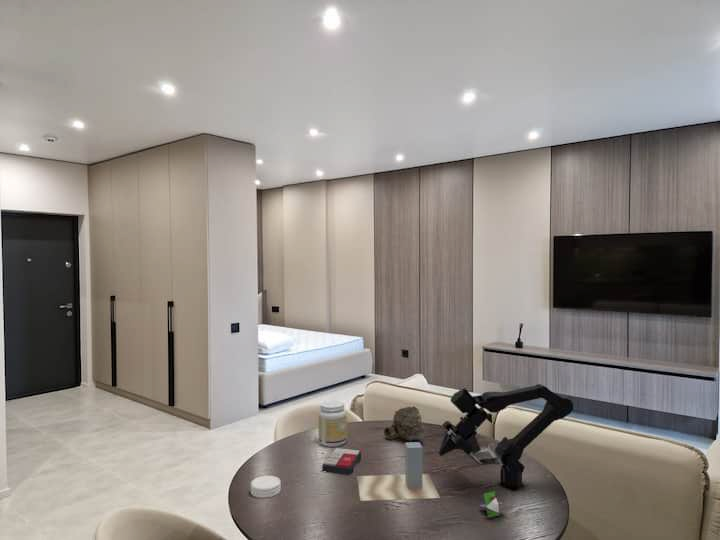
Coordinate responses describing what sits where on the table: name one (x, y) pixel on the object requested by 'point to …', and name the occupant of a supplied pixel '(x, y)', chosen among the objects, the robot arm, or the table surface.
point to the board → (393, 488)
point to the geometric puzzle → (491, 504)
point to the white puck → (265, 486)
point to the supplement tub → (332, 424)
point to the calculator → (342, 461)
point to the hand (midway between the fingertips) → (439, 454)
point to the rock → (405, 425)
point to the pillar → (413, 465)
